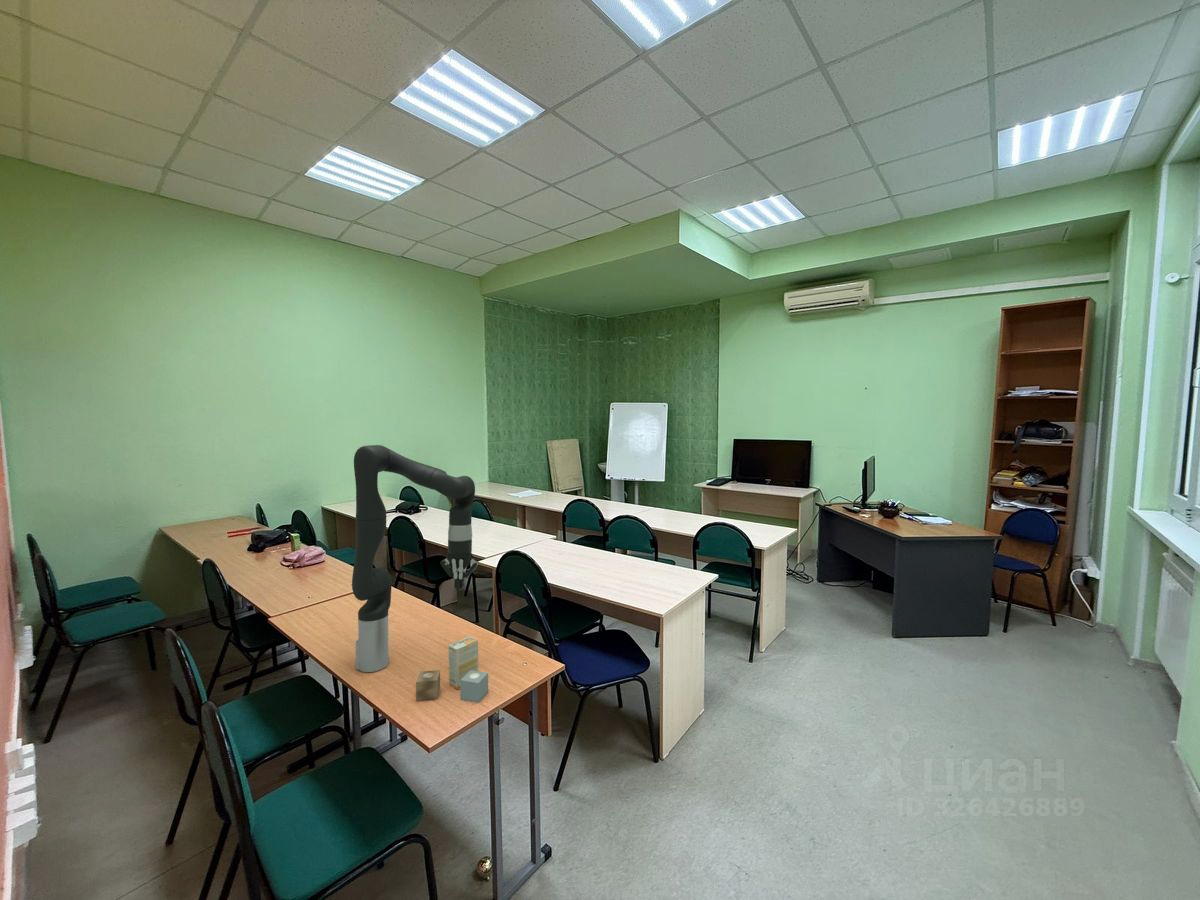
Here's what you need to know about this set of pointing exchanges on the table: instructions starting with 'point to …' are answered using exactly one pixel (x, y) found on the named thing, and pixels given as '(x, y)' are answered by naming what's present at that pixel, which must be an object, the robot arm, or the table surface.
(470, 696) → the slate block
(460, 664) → the supplement box
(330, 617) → the table surface
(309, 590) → the table surface
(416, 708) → the table surface
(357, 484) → the robot arm
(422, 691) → the walnut block
